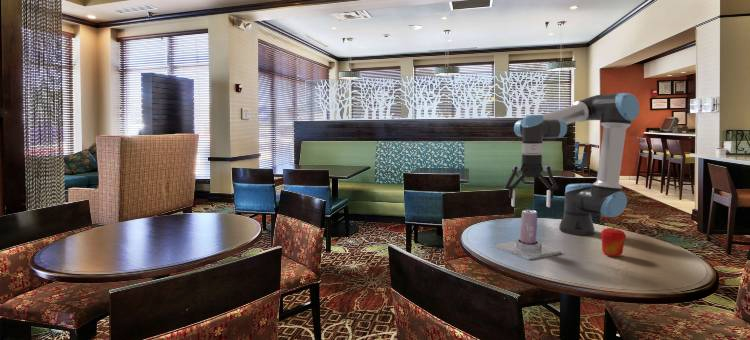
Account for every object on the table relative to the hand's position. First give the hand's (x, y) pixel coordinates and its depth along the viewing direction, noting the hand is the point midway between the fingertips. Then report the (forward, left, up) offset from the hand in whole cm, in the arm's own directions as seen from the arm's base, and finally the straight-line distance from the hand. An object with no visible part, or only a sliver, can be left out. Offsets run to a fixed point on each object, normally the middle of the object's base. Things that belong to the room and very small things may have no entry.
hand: (530, 206), depth 166 cm
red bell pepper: (-25, +19, -18) cm, 36 cm away
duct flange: (0, 0, -18) cm, 18 cm away
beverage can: (0, 0, -17) cm, 17 cm away
